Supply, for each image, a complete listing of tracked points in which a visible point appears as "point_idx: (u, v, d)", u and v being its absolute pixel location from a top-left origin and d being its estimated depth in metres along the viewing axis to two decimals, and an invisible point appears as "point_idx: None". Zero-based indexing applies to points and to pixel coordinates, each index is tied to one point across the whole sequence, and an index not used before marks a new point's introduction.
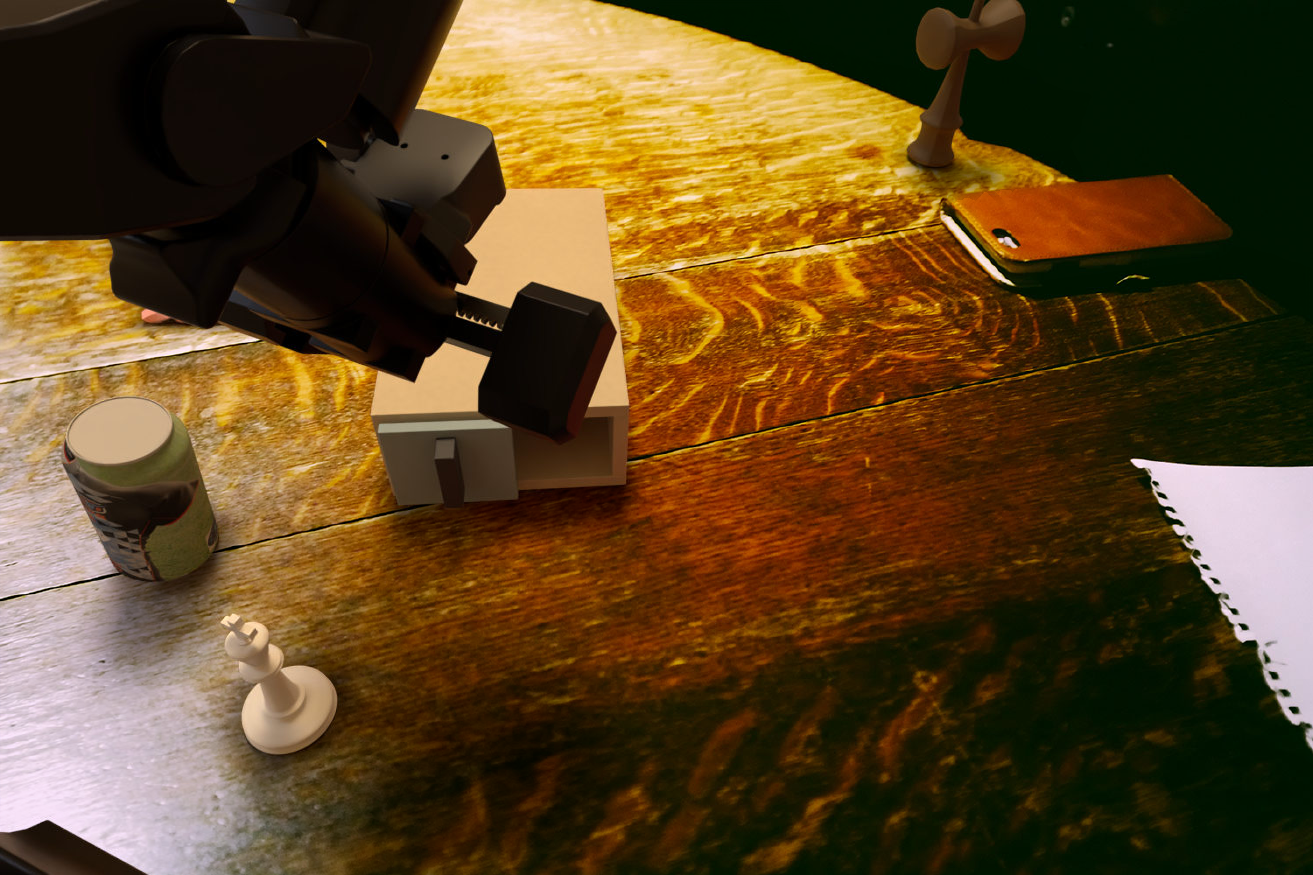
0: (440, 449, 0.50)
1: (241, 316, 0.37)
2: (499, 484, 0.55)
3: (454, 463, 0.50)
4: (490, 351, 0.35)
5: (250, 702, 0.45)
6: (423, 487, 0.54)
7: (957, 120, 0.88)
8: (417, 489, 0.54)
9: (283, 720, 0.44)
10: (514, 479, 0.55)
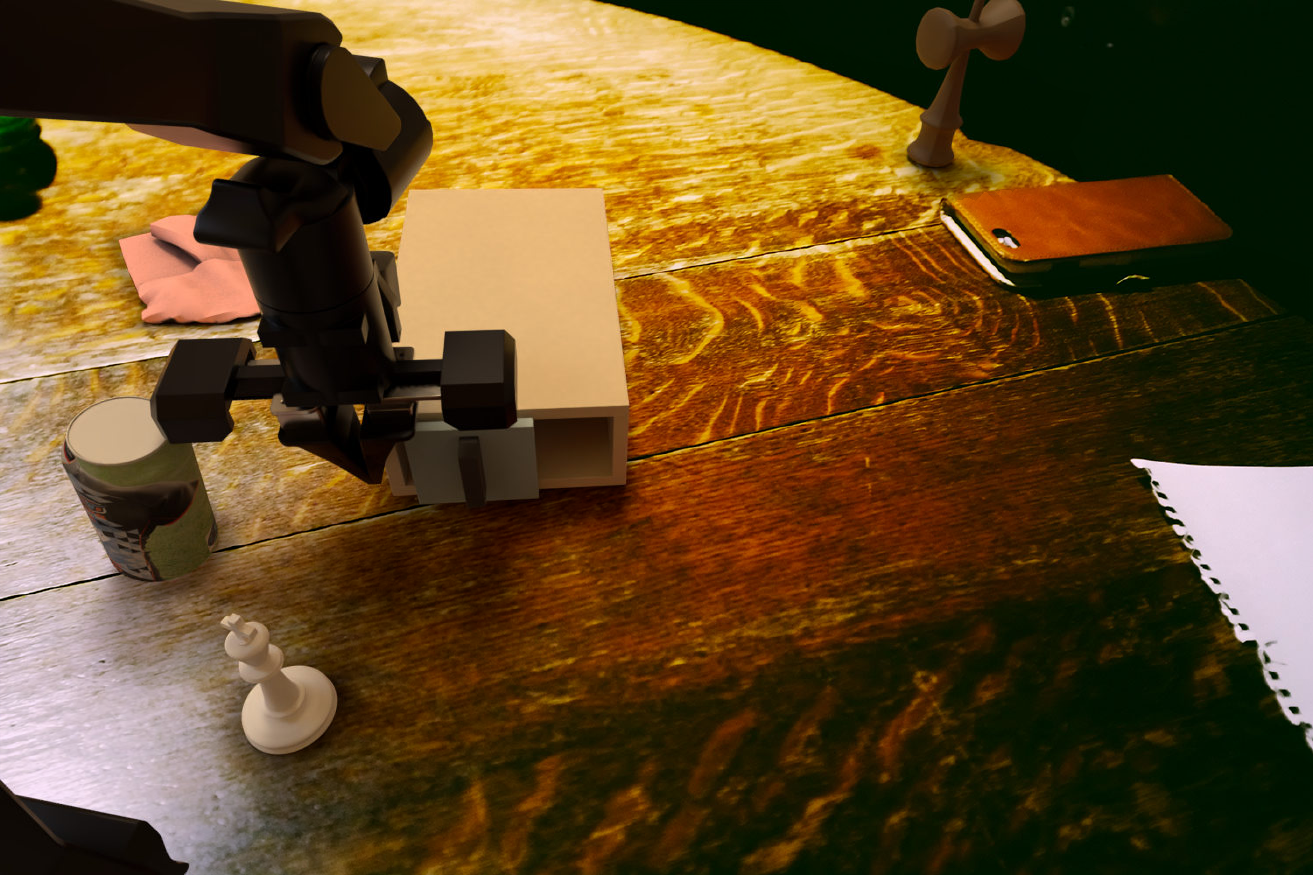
0: (463, 448, 0.50)
1: (198, 405, 0.42)
2: (520, 483, 0.55)
3: (477, 462, 0.50)
4: (436, 371, 0.45)
5: (250, 702, 0.45)
6: (445, 486, 0.54)
7: (957, 120, 0.88)
8: (439, 488, 0.54)
9: (283, 720, 0.44)
10: (535, 478, 0.55)
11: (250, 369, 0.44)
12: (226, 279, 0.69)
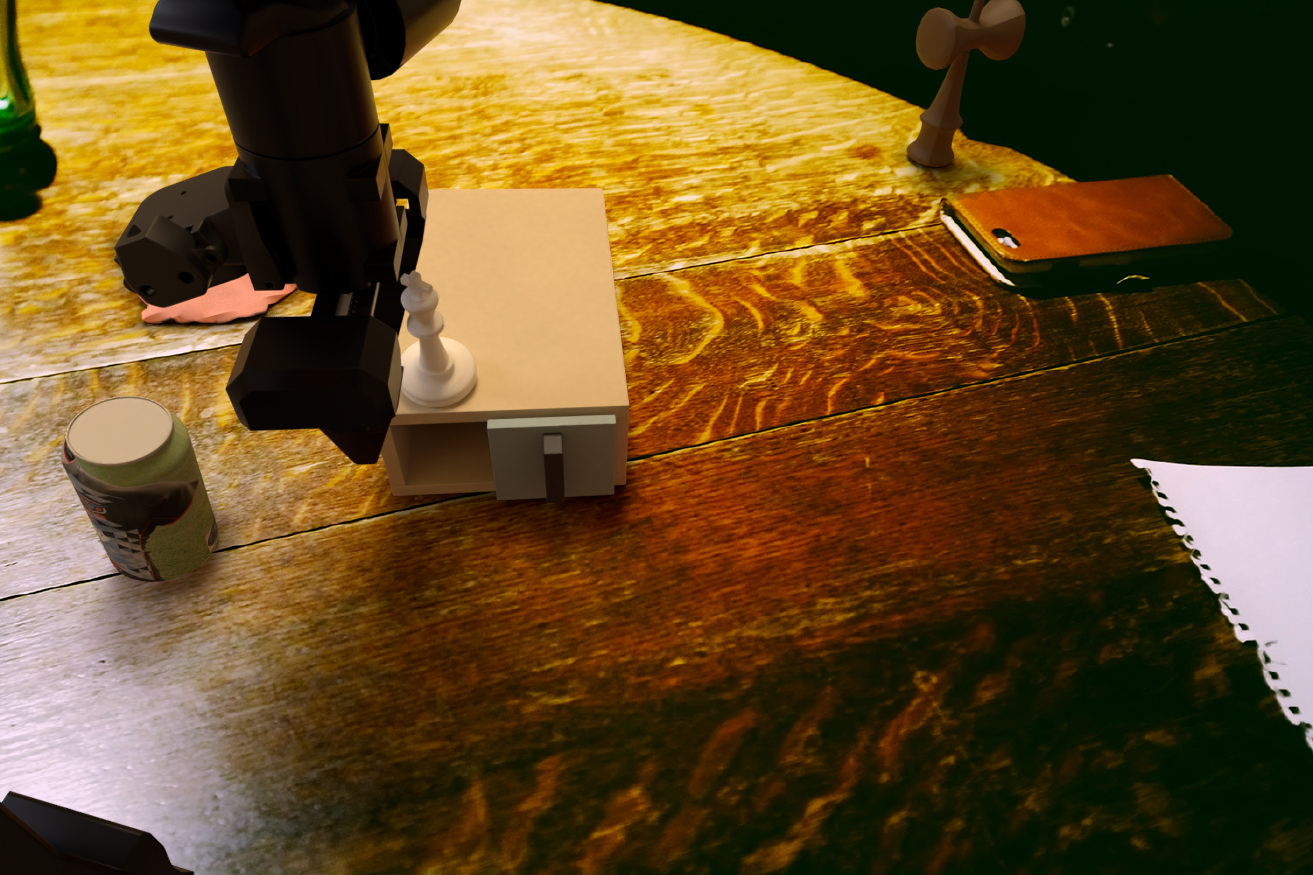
0: (548, 445, 0.51)
1: (378, 341, 0.34)
2: (597, 479, 0.56)
3: (562, 458, 0.51)
4: None
5: (404, 363, 0.51)
6: (524, 482, 0.55)
7: (957, 120, 0.88)
8: (518, 484, 0.55)
9: (436, 378, 0.51)
10: (613, 474, 0.55)
11: None
12: None
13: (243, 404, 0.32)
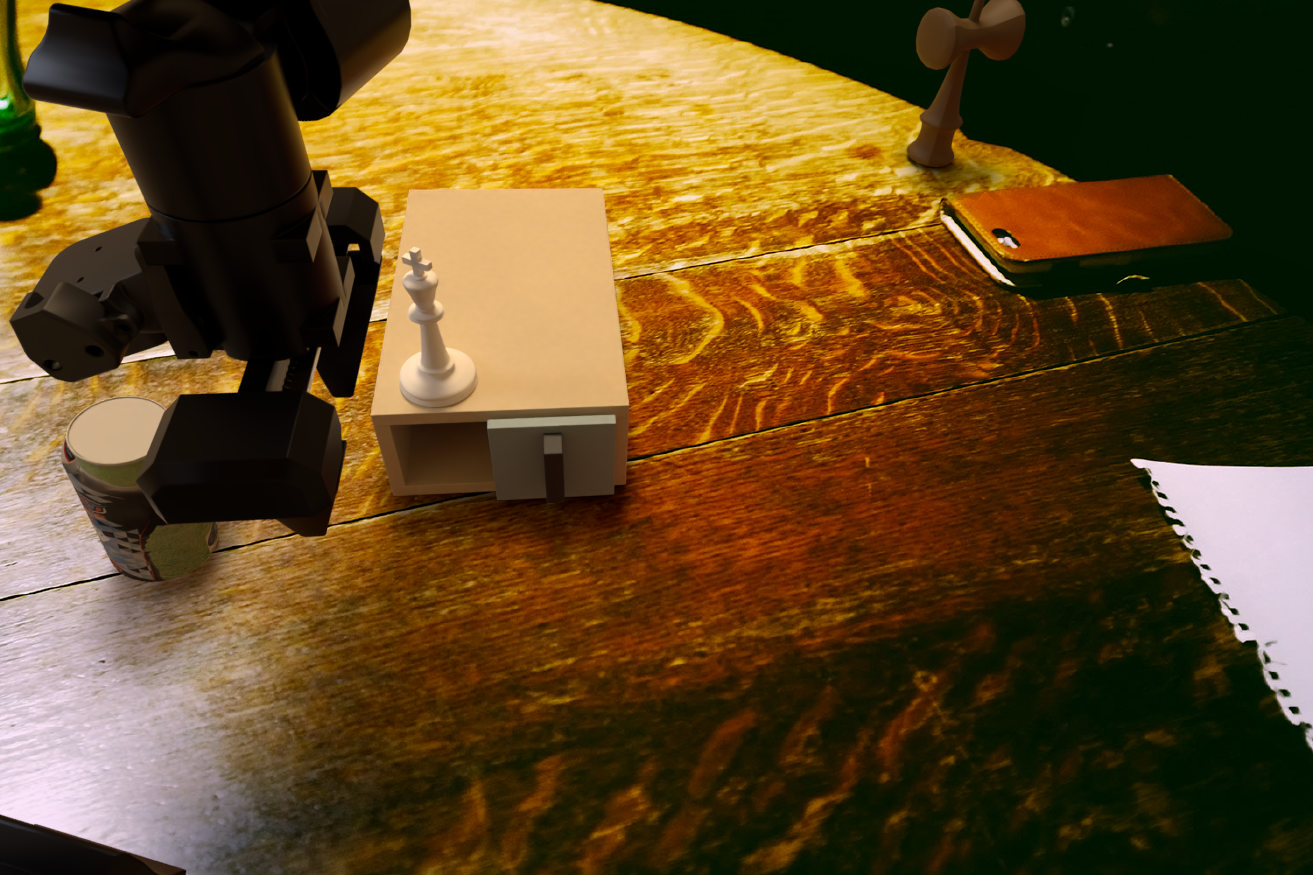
0: (548, 445, 0.51)
1: (312, 421, 0.30)
2: (597, 479, 0.56)
3: (562, 458, 0.51)
4: None
5: (406, 367, 0.52)
6: (524, 482, 0.55)
7: (957, 120, 0.88)
8: (518, 484, 0.55)
9: (436, 378, 0.51)
10: (613, 474, 0.55)
11: (246, 391, 0.31)
12: None
13: (156, 498, 0.28)
